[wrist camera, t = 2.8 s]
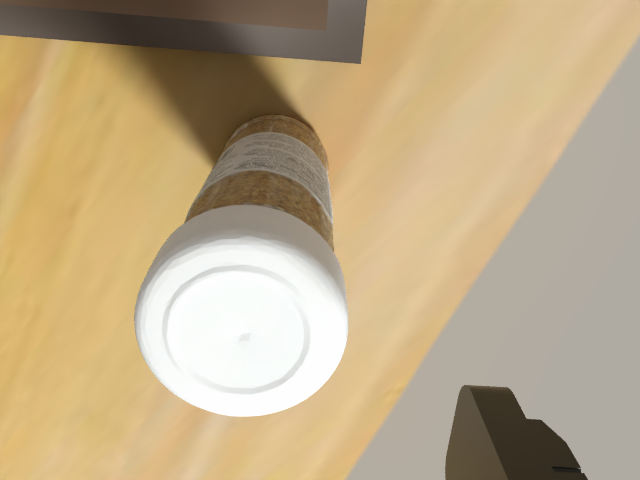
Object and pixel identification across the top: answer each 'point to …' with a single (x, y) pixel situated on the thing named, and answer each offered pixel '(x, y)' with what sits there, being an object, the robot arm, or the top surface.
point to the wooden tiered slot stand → (199, 25)
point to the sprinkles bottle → (250, 279)
